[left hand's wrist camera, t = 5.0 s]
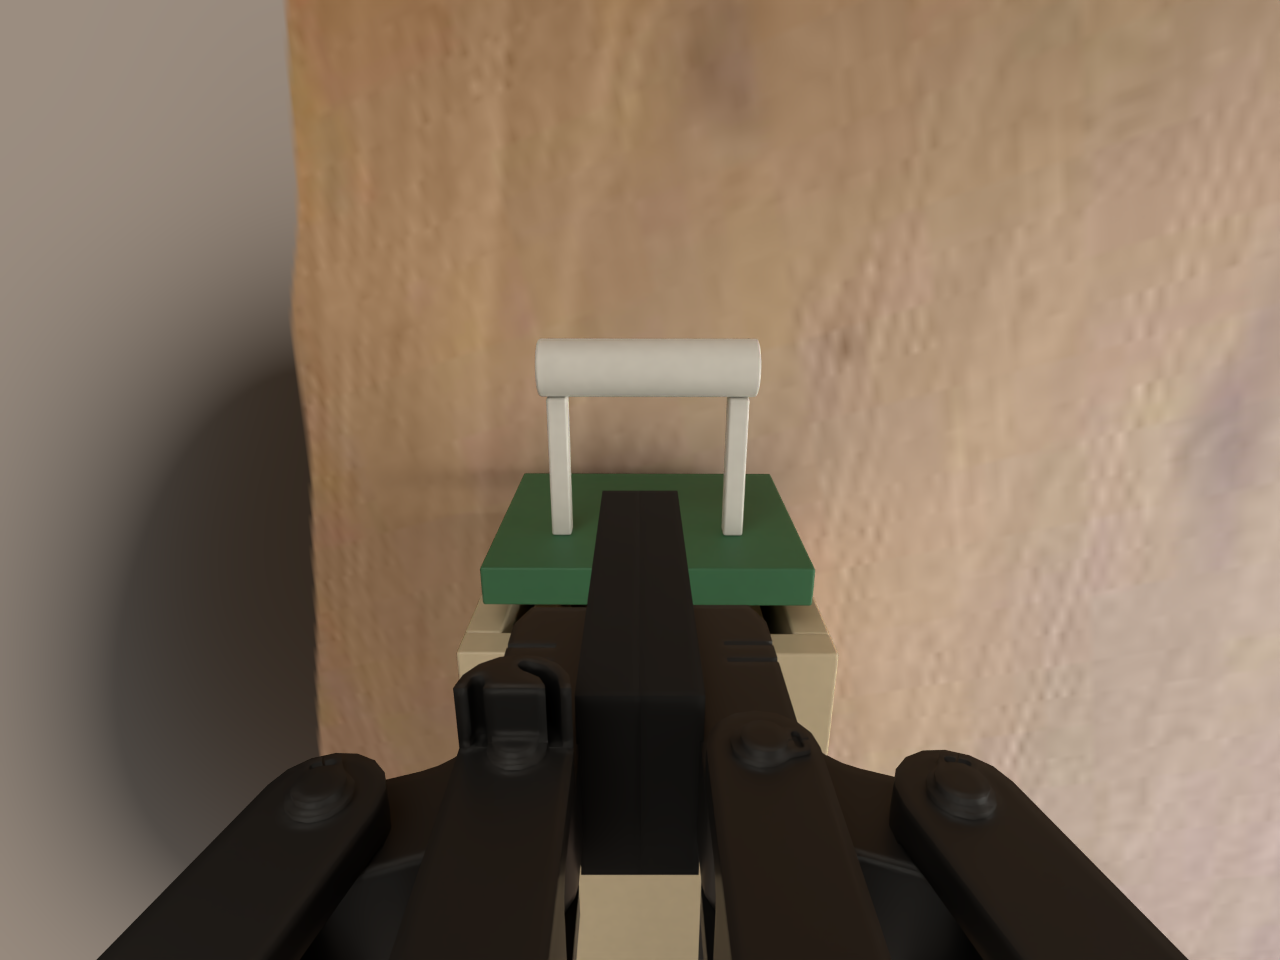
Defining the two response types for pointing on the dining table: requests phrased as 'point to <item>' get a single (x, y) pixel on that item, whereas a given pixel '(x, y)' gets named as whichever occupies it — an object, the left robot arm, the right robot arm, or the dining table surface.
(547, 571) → the drawer
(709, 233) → the dining table surface
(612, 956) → the cabinet
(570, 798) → the left robot arm
